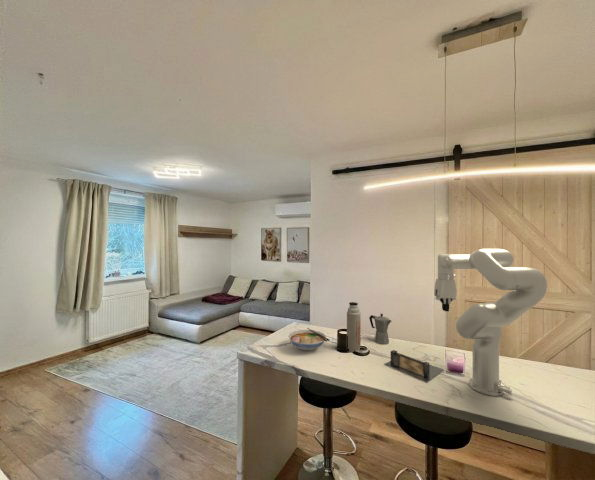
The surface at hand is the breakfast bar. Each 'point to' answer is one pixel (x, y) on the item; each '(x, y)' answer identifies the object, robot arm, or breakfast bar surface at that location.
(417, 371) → the gate
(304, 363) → the breakfast bar surface
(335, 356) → the breakfast bar surface
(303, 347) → the ramen bowl
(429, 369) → the gate frame
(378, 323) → the coffeepot
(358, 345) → the thermos bottle
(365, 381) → the breakfast bar surface
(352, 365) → the breakfast bar surface
